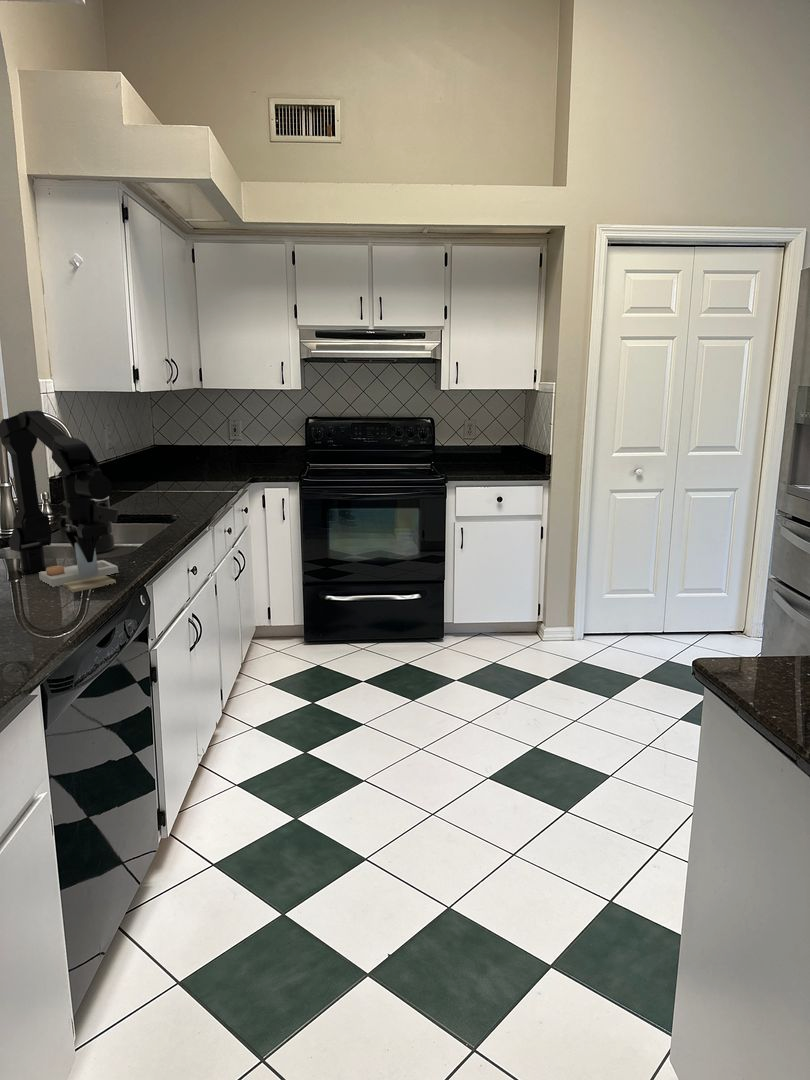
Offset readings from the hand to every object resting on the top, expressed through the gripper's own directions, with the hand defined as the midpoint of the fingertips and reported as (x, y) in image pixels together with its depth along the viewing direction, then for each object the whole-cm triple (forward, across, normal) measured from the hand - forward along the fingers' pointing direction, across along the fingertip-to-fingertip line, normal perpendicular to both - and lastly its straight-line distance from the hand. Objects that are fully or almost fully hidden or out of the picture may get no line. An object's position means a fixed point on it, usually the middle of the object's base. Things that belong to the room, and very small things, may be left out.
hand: (86, 560), depth 181 cm
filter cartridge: (+4, 0, 0) cm, 4 cm away
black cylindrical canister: (+6, +36, -15) cm, 40 cm away
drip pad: (+6, 0, 0) cm, 6 cm away
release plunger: (+6, +10, +4) cm, 12 cm away
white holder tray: (+6, +10, -1) cm, 12 cm away
